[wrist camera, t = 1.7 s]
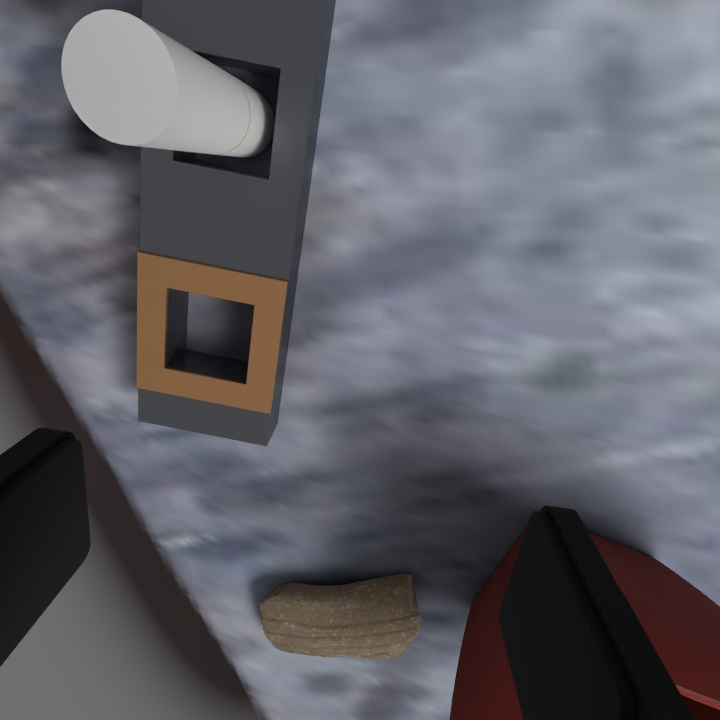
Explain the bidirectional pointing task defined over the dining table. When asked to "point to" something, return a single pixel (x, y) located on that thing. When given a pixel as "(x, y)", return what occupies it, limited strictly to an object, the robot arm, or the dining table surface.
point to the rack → (229, 222)
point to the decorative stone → (343, 618)
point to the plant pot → (653, 609)
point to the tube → (158, 91)
